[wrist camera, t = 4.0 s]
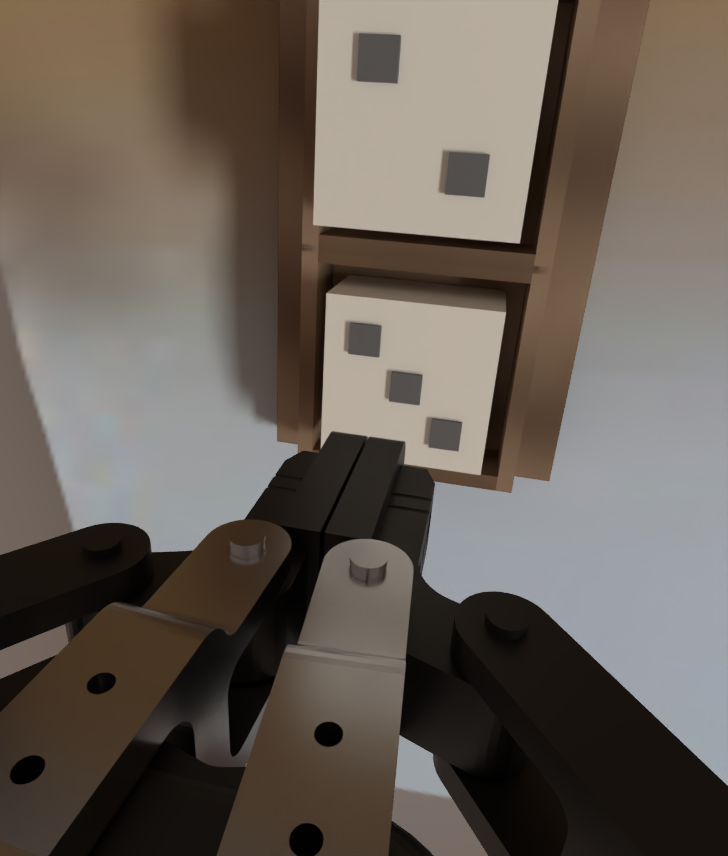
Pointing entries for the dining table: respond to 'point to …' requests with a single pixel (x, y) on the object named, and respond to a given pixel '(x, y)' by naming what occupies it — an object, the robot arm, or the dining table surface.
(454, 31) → the tile two
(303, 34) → the brown tile tray
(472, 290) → the tile three
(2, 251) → the dining table surface
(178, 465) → the dining table surface
